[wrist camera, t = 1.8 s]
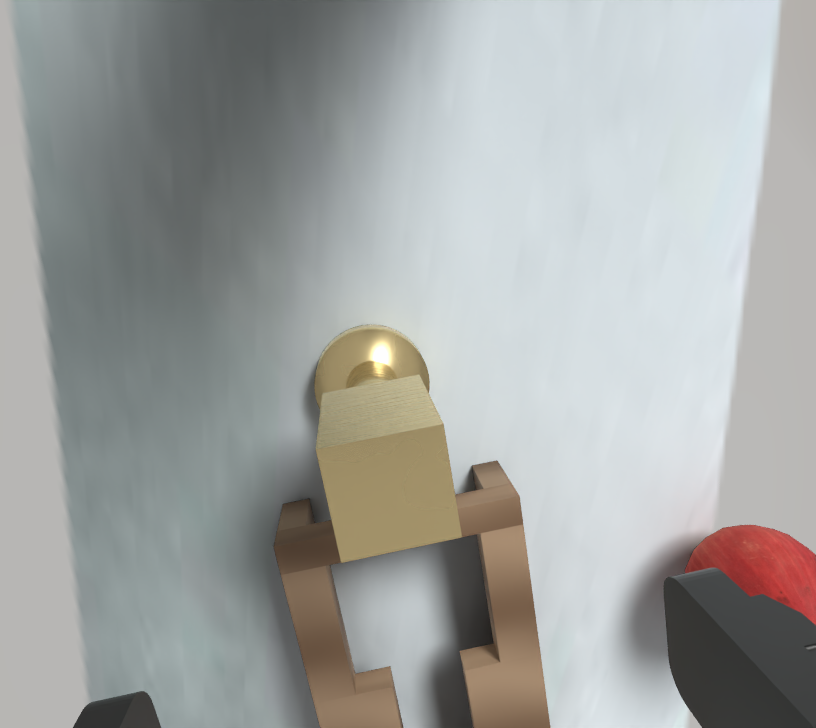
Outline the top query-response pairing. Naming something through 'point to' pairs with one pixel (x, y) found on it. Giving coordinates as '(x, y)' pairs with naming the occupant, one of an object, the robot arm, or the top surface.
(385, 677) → the keyhole plate
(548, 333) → the top surface
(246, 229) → the top surface
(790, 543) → the onion
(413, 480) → the keyhole peg
